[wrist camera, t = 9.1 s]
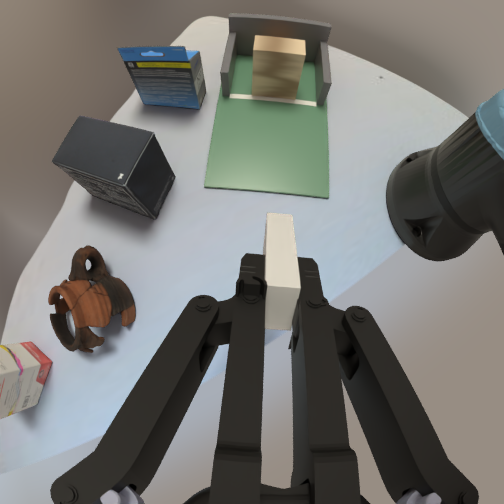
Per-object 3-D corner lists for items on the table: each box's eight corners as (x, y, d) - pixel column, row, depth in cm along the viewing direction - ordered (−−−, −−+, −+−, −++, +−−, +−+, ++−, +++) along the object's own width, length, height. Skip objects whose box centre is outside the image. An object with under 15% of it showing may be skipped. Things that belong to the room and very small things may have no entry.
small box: (178, 173, 36) (157, 129, 26) (156, 221, 35) (125, 189, 25) (112, 153, 37) (78, 111, 26) (90, 195, 36) (48, 163, 25)
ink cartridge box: (30, 339, 32) (-46, 345, 17) (53, 361, 32) (-22, 378, 17) (15, 384, 31) (-53, 401, 16) (37, 406, 30) (-30, 433, 16)
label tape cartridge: (207, 90, 39) (197, 26, 26) (200, 110, 38) (186, 46, 26) (151, 86, 39) (129, 28, 27) (142, 105, 38) (115, 48, 26)
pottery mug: (145, 345, 33) (91, 369, 26) (98, 330, 37) (50, 346, 30) (135, 242, 32) (73, 248, 25) (89, 243, 36) (36, 248, 29)
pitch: (322, 61, 40) (334, 24, 32) (328, 198, 36) (349, 169, 28) (228, 52, 40) (225, 13, 32) (204, 187, 36) (193, 155, 28)
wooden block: (295, 84, 38) (305, 40, 29) (295, 99, 38) (305, 55, 29) (253, 80, 38) (255, 35, 29) (251, 95, 38) (253, 49, 29)
